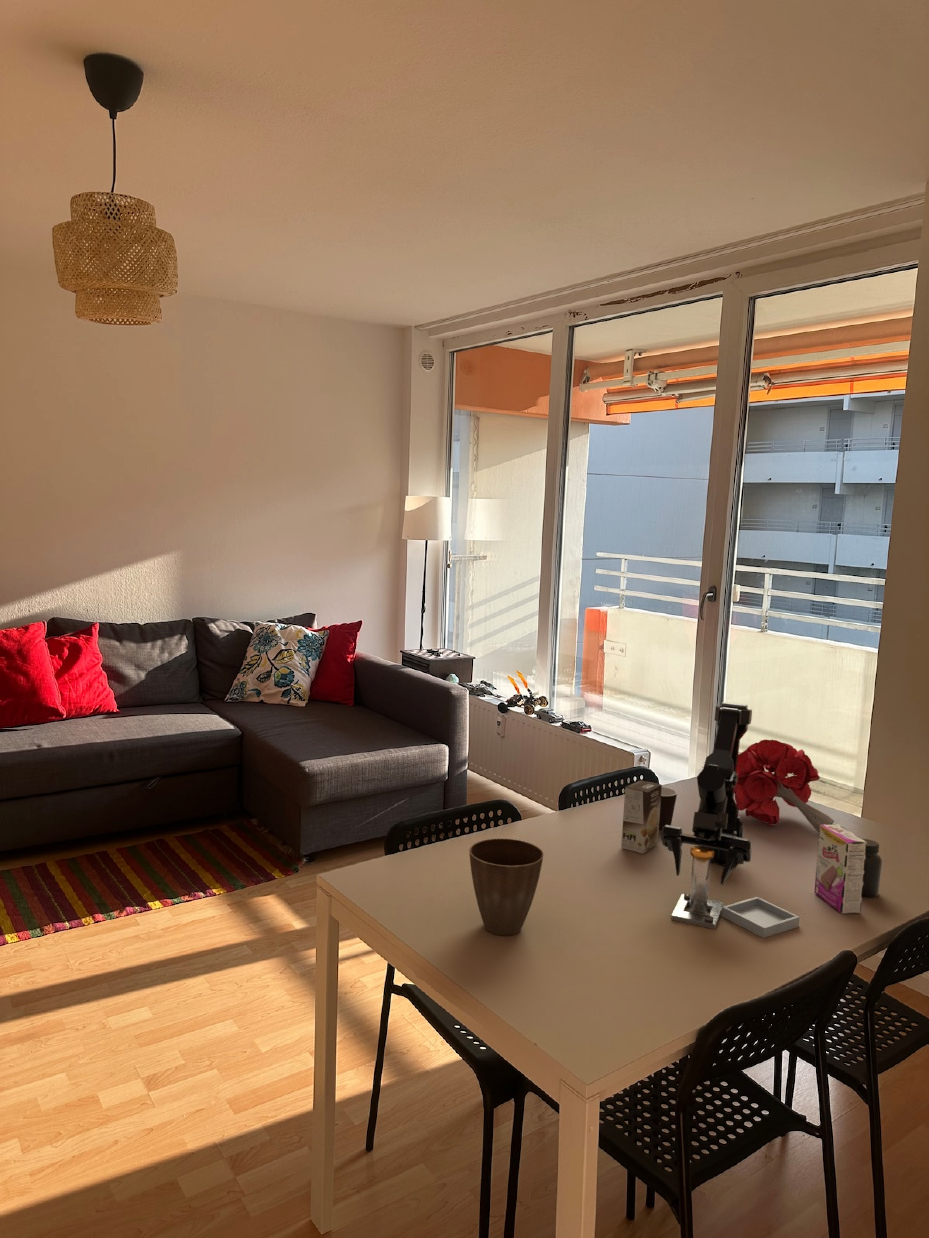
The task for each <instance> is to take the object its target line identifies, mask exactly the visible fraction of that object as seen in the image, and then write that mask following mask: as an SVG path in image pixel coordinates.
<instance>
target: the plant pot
mask: <svg viewBox="0 0 929 1238" xmlns="http://www.w3.org/2000/svg"><path fill="white" fill-rule="evenodd" d="M468 852H469V861H470V862H469V863H470V870H471V879H472V885H473V889H474V894H475V899H476V902H477V907H478V910H479V914H480V916H481V920H482V922H483V926H484V929H485V930H486V931H487V932H489V933H491V934H494V935H497V936H513V935H516V934H518V933H519V932H521V930H522V928H523V926H524V924H525V922H526V919H527V916H528V914H529V912H530V910H531V906H532V903H533V900H534V897H535V894H536V890H537V888H538V887H537V886H538V883H539V880H540V875H541V870H542V865H543V860H544V855H545V854H544V852H543V850H542V849H541V848H540V847H538V846H537V845H535V844H533V843H531V842H527V841H525V840H520V839H519V840H518V839H512V838H490V839H483V840H480V841H478V842H475V843H473V844H472V845H471V846H470V847H469V851H468Z"/></svg>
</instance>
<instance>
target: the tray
mask: <svg viewBox="0 0 929 1238" xmlns="http://www.w3.org/2000/svg"><path fill="white" fill-rule="evenodd" d="M721 917H722V918H723V919H726V920H728V921H730V922H732V923H733V924H736V925H737V926H740V927H742V928H744V929H746V930H747V931H749V932H752V933H753V934H755V935H757V936H759V937H761V938H763V939H765V938H768V937H772V936H774V935H777V934H780V933H784V932H786V931H789V930H793V929H796V928H799V927H800V919H801V918H800V916H798V915H797V914H794V913H792V912H791V911H788V910H786V909H784V908H782V907H780V906H777V905H775V904H773V903H771V902H769V901H767V900H765V899H763V898H761V897H759V896H754V897H752V898H748V899H744V900H741V901H737V902H734V903H732V904H728V905H723V907H722V912H721Z"/></svg>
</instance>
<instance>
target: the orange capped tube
mask: <svg viewBox="0 0 929 1238" xmlns="http://www.w3.org/2000/svg"><path fill="white" fill-rule="evenodd" d="M690 856H692V864H691V865H692V867H691V868H692V869H691V879H690V880H691V882H690V893H689V894H690V906H688V907H689V909H688V912H691V913H695V914H700V915H705V916H707V912H708V910H707V900H708V899H709V898H708V896H709V884H710V868H711V861H710V859H711V858H713V857H714V851H713V850H712V849H710V848H708V847H703V846H698V845H693V846H691V847H690Z"/></svg>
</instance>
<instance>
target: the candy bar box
mask: <svg viewBox="0 0 929 1238" xmlns="http://www.w3.org/2000/svg"><path fill="white" fill-rule="evenodd" d="M862 839H863V838H861V837H859V836H858V835H856V834H854V833H852V832H851V831H850V830H848V829H846V828H845V827H844V826H842V825H840V824H839V823H837V824H836V823H833V824H827V825H826V824H823V825H820V829H819V832H818V842H817V856H816V870H815V879H814V880H815V881H814V890H813V892H814V894H815V895H816V896H818V897H820V898H821V900H823V901H824V902H826V903H827V904H828V905H830V906H831V907H832V908H834V909H835V910H836V911H837V912H839V913H840V914H841V915H852V914H861V911H862V901H863V897H862V891H863V880H864V869H865V858H866V847H867V842H866V841H864V840H862Z"/></svg>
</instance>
